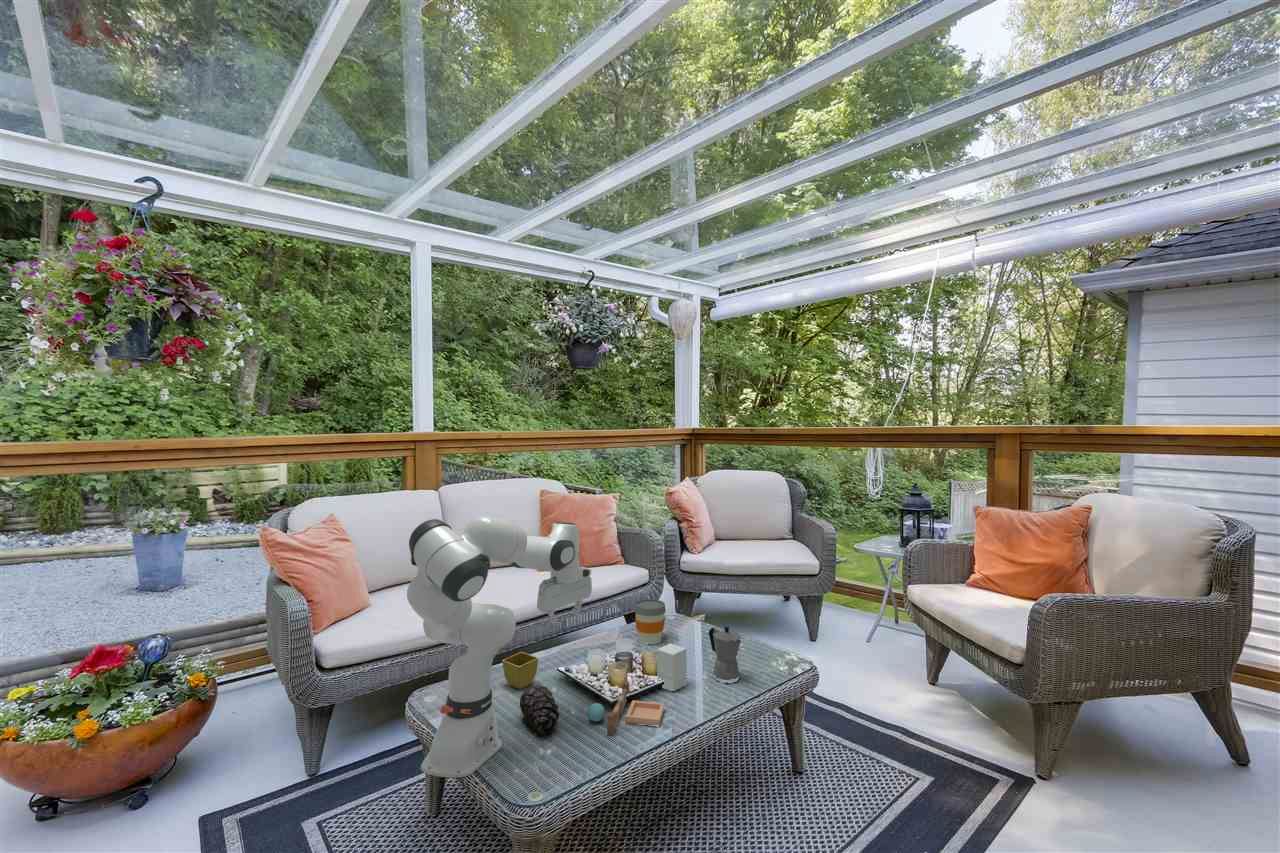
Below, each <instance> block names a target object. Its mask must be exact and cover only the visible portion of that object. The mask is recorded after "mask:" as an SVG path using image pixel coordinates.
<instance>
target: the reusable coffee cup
mask: <svg viewBox="0 0 1280 853" xmlns="http://www.w3.org/2000/svg"><path fill="white" fill-rule="evenodd" d="M634 612H635V617H634V620H635V628H636V631H637V636H638V637H637V638H638V641H639V640H640V641H641V642H643V643H648V644H656V643H659V642H660V643H661V642H662V636H663V631H664V629H665V628H664V627H665V622H666V621H665V620H666V617H665V613H666V612H667V609H666V603H665V602H664V601H662V600H659V599H651V598H649V599H641V600H637V601H635V604H634ZM660 643H659V644H660Z"/></svg>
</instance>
